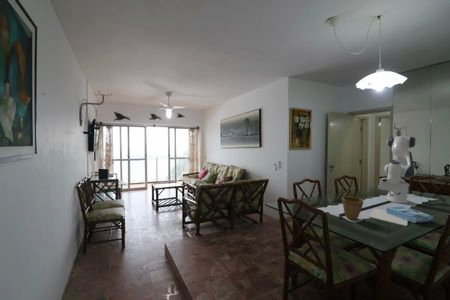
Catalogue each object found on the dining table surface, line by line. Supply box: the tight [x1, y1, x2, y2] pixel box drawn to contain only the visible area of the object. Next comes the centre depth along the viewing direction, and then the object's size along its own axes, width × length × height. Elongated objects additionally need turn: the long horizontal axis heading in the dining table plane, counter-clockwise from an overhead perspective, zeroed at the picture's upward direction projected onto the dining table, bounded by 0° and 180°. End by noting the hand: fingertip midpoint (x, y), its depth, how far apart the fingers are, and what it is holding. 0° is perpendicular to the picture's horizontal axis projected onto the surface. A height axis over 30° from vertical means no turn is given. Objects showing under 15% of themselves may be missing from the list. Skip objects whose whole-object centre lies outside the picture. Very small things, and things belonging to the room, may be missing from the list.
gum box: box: [385, 205, 434, 224], centre depth 178 cm, size 19×5×23 cm
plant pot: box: [341, 196, 364, 221], centre depth 173 cm, size 15×15×16 cm
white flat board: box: [368, 208, 409, 227], centre depth 179 cm, size 28×24×1 cm
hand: (392, 196), depth 183 cm, fingers closed
